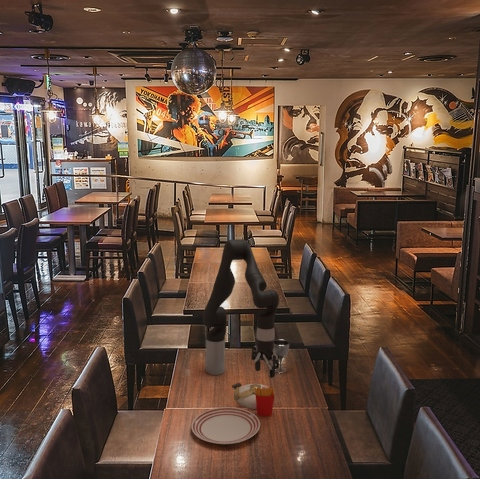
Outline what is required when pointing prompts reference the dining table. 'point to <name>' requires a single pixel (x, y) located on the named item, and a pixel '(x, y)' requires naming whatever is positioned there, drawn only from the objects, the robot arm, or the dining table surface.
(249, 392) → the crank
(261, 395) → the french fries
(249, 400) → the crank housing
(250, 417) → the dinner plate
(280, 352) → the wine glass
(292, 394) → the dining table surface
